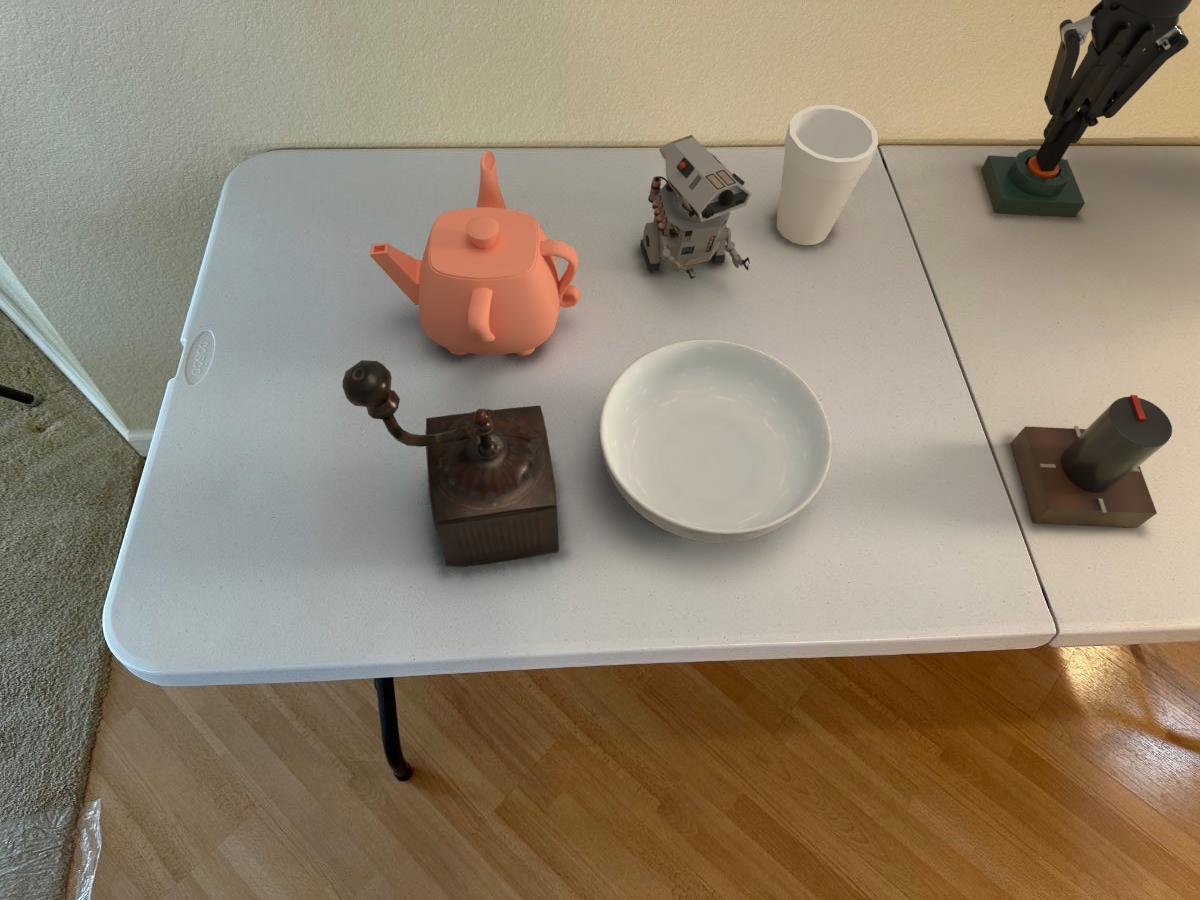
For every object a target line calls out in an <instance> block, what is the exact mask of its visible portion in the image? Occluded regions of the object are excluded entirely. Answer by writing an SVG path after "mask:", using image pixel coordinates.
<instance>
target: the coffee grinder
mask: <svg viewBox="0 0 1200 900" xmlns="http://www.w3.org/2000/svg"><path fill="white" fill-rule="evenodd" d="M343 375H344V376H343V378H342V386H341V387H342V390H343V393H344V395H345V398H346V399H347V401H348V402H349V403H350V404H352V405H353V406H356V407H362V408H366V411H367V415H368V416H370V418H372V419H374V420H382V421H383V424H384V426H385V428H386V430H387V431H388V433H389V434H390V435H391V436H392V438H394V439H395V440H396V441H397V442H399V443H400V444H403V445H405V446H407V447H417V448H419V447H420V448H422V447H425V456H426V457H425V458H426V468H427V470H426V471H427V492H428V494H427V495H428V498H429V504H430V509H431V516H432V520H433V525H434V529H435V532H436V535H437V538H438V540H439V543H440V546H441V547H440V548H441V550H442V553H443V557H444V562H445V566H446V567H460V568H461V567H466V568H467V567H473V566H481V565H488V564H495V563H502V562H503V563H504V562H510V561H514V560H521V559H527V558H531V557H537V556H543V555H548V554H551V553H553V554H554V553H558V552H559V551H560V542H559V541H560V540H559V519H558V503H557V491H556V483H555V477H554V468H553V464H552V457H551V450H550V445H549V436H548V432H547V427H546V422H545V416H544V414H543V411H542V407H541V405H531V406H529V405H528V406H518V407H508V408H507V407H506V408H498V409H488V408H487V409H485V408H478V409H476V410H475V411H472V412H464V413H457V414H448V415H440V416H432V417H426V418H425V419H426V420H425V433H424V434H417V433H411V432H409V431H407V430H404V429H403V428H402V427H401V426H400V424H399V423H398V421H397V419H396V417H395V413H396V411H397V410H398V409H399V406H400V402H401V398H400V397H399V395H398V394H397V392H396V391H395V390H393V389H391V388H392V378H393V377H392V374H391V371H389V369H388V368H387V367H386V366H385V364H383V363H382V362H380V361H378V360H366V359H363V360H360V361H359V362H357V363H355V364H354V365H352V366H351V367H350V368H349V369H347V370H346V371H345V373H344V374H343Z"/></svg>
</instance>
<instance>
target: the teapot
mask: <svg viewBox="0 0 1200 900" xmlns="http://www.w3.org/2000/svg"><path fill="white" fill-rule="evenodd" d="M479 170H480V175H479V176H480V177H479V180H480V181H479V189H478V195H477V201H476V207H466V208H459V209H453V210H448V211H446V212H443V213H441V214H439V215H438V216H437V217H436V218H435V220H434V222H433V224H432V227H431V229H430V232H429V235H428V238H427V242H426V244H425V248H424V251H423V254H422V257H421V260H420V259H417V258H415V257H413V256H410V255H409V254H407V253H405V252H403V251H401V250H399V249H398V248H396V247H394V246H392V245H390V243H389V242H383V243H382V242H381V243H374V244H373V243H372V244H371V245H370V251H369V256H370V258H371V259H372V260H373V261H374V262H375V263H376V264H377V265H378V266H379V267H380V268H381V269H382V271H383V272H384V273H385V274H386V275H387V276H388V277H389V278H390V279H391V280H392V282H393V283H394V284H395V285H396V286H397V287H398V288H399V289H400V290H401V291H402V293H404V295H405V296H406V297H407V298H408V299H409V300H410V301H411V302H412V303H413V305H414V306H418V317H419V322H420V325H421V328H422V331H423V332H424V333H425V335H426V336H427V337H428V338H429V339H431V340H432V341H433V342H434V343H436V344H438V345H440V346H442V347H443V348H446V349H447V350H448V351H449V352H450V353H451V354H453V355H457V356H463V355H466V354H474V355H482V356H483V355H484V356H487V355H488V356H495V355H496V356H497V355H509V354H514V355H516V356H522V357H524V356H528V355H530V354H533V352H534V351H535V349H536V348H537V347H539V346H540V345H542V344H544V343H545V342H546V341H547V340H548V339H549V338H550V337H551V336H552V334H553V332H554V331H555V328H556V326H557V321H558V318H559V313H560V307H562V308H572V307H574V306H576V305H578V303H579V301H580V298H581V291H580V289H579V287H578V286H576V285H574V284H571V283H572V282H573V281H574V278H575V277H576V275H577V273H578V268H579V256H578V253H577V252H576V249H574V247H573V246H571V245H569V244H568V243H566V242H564V241H560V240H558V239H557V240H556V239H548V236H547V235H546V233H545V232H544V230H543V228H542V226H541V225H540V224H539V222H538V221H537V219H536V218H535V217H534V216H533V215H531V214H529V213H527V212H524V211H519V210H515V209H510V208H507V207H506V204H505V201H504V198H503V195H502V191H501V188H500V185H499V180H498V179H499V178H498V172H497V160H496V156H495V154H494V153H493V152H492V151H491V150H485V151H484V152H483V153H482V154H481V159H480V169H479ZM556 257H558V258H561V259H563V260H565V261H567V262H568V263H567V267H566V269H565V271H564V272H563V274H562V276H561V278H559V272H558V271H559V270H558V266H557V260H556Z"/></svg>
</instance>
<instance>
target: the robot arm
mask: <svg viewBox="0 0 1200 900" xmlns="http://www.w3.org/2000/svg"><path fill="white" fill-rule="evenodd" d="M1192 1H1193V0H1100V1H1099V3H1097V4H1096V5H1095V6H1094V7H1093V8H1092V9H1091V10H1090V12H1089V15H1088V16H1085V17H1083V18H1080V19H1079V20H1076V21H1072V20H1071V19H1070V18H1068V19H1065V20H1062V22H1061V23H1060V24H1059V36H1060V44H1059V46H1058V50H1057V53H1056V57H1055V60H1054V63H1053V67H1052V70H1051V73H1050V77H1049V81H1048V84H1047V87H1046V91H1045V94H1044V98H1043V101H1044V103H1045V105H1046V108H1047V110H1048V113H1049V115H1050V116H1051V118H1050V119H1049V121H1048V122H1047V125H1046V126H1045V128H1044V129H1043V133H1042V135H1043V138H1044V140H1043V142H1042V144H1041V146H1040V147H1039V148H1038V149H1039V150H1038V152H1037V154H1036V158H1037V161H1038V163H1039V166H1040V168H1041V170H1046V171H1054V169H1055V168H1056V166H1057V165H1058V163H1059V161H1060V160H1061V158H1062V159H1063V157H1064V155H1065V154H1066V152H1067V150H1068V149H1069V148H1070V145H1071V144H1073V145H1075V144H1078V142H1079V141H1080V140H1081V138H1082V136H1083V135H1084V133H1085V132H1086V130H1087V129H1088V127H1090V128H1091V127H1092V128H1093V127H1096V126H1097V125H1098V124H1099V120H1098V118H1103V117H1104V118H1106V119H1111V118H1113V117H1114V116H1116V114H1117V113H1119V111H1121V109H1122V108H1123V107H1124V106H1125V105H1126V104H1127V103H1128V102H1129V101H1130V100H1131V98H1133V97H1134V96H1135V95H1136V94H1137V93H1138V91H1139V90H1140V89H1141V88H1142V87H1143V86H1144V85H1145V84H1146V83H1147V82H1148V81H1149V80H1150V79H1151V77H1153V75H1155V74H1156V73H1157V71H1158V70H1159V69H1161V67H1162V66H1163V65H1164V64H1165V63H1166V62H1167V61H1168V60H1169V59H1171V58H1172V57H1174V56H1175V55H1176V54H1178V53H1179V52H1181V51H1182V50H1184V49H1185V48H1186V47H1187V46H1188V45H1189V43H1190V41H1189V39H1188V37H1187V35H1186V33H1185V32H1184V30H1183V28H1182V26H1180V25H1179V24H1178V23H1179V21H1180V15H1181V14H1182V13H1184V12H1185V11H1186V10H1187V8H1188V7H1189V6H1190V4H1191V2H1192ZM1089 32H1090V34H1091V40H1090V42H1089V44H1088V46H1087V51H1086V53H1085V56H1084V57H1083V59H1082V61H1081V62H1080V63H1079V65H1078V67H1077V69H1075V68H1076V66H1077V63H1078V60H1079V56H1080V51H1081V46H1083V45H1084V44H1085V43H1086V41H1085V40H1086V39H1087V35H1088V33H1089Z"/></svg>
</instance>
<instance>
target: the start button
mask: <svg viewBox="0 0 1200 900" xmlns="http://www.w3.org/2000/svg"><path fill="white" fill-rule="evenodd" d="M1026 167H1027V169H1028V170H1029V171H1030V172H1031V173H1033V174H1034V175H1036V176H1039V177H1042V178H1055V176H1056V175H1057V173H1058V172H1059V165H1057V166H1056V168H1055V169H1054V171H1046V170H1041V168H1040V166H1039V163H1038V161H1037V158H1036V156H1033V157H1032V158H1030V160H1029V161H1028V163H1027V165H1026Z"/></svg>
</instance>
